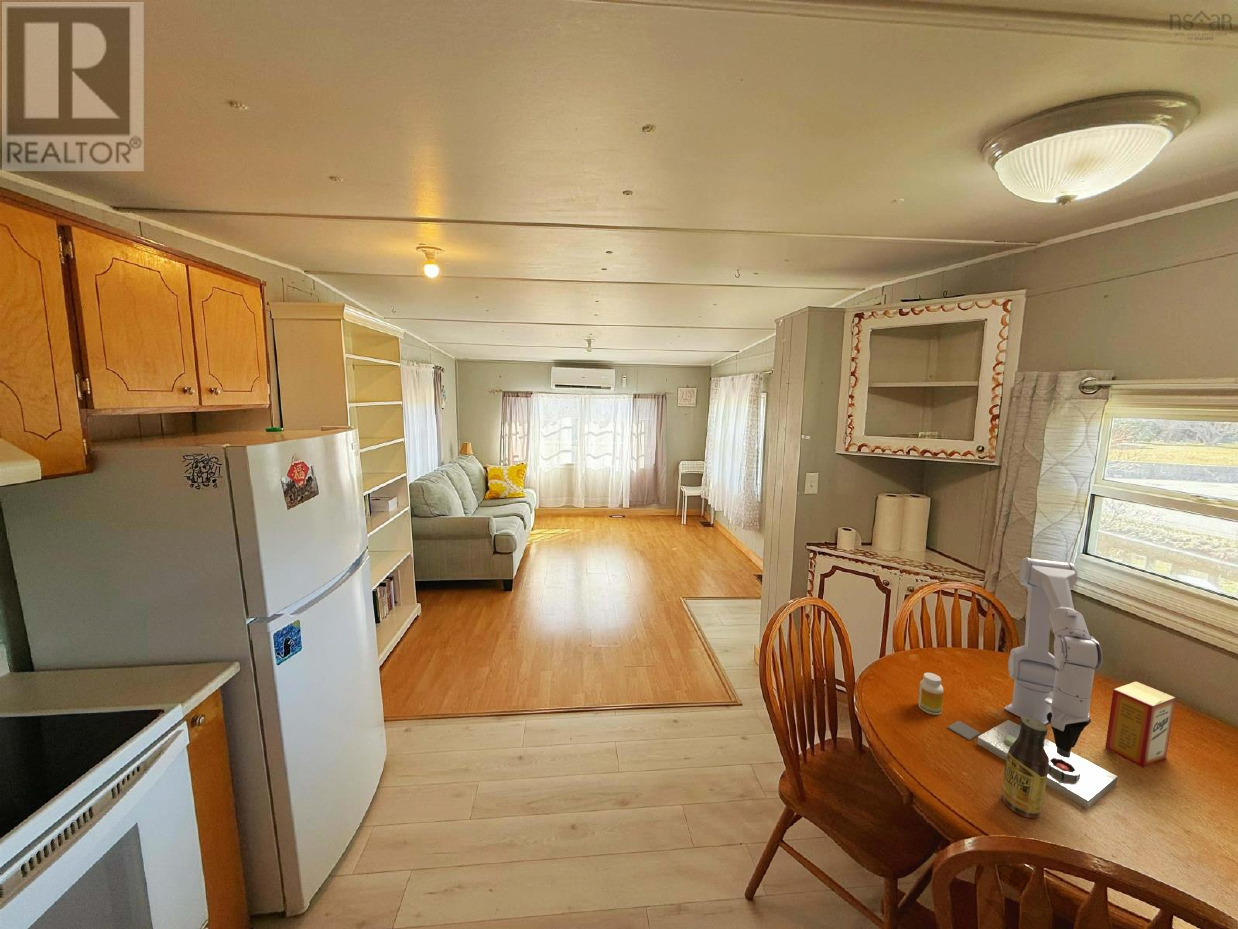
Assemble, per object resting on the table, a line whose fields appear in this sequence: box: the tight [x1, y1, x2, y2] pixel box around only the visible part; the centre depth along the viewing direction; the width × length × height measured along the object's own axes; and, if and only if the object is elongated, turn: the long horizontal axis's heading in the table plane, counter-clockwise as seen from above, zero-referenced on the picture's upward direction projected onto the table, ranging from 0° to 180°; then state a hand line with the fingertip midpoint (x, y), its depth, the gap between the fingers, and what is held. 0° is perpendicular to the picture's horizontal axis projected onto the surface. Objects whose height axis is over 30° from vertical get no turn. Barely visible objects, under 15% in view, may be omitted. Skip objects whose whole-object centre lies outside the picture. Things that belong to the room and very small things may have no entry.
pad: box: [1005, 735, 1017, 746], centre depth 108 cm, size 2×2×2 cm
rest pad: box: [947, 720, 982, 741], centre depth 115 cm, size 5×5×1 cm
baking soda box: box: [1105, 681, 1177, 769], centre depth 106 cm, size 10×6×16 cm
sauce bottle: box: [1001, 717, 1049, 819], centre depth 92 cm, size 7×6×20 cm
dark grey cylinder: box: [1057, 747, 1072, 758], centre depth 99 cm, size 2×2×8 cm
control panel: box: [976, 719, 1118, 809], centre depth 104 cm, size 14×20×3 cm
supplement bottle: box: [917, 672, 944, 716], centre depth 123 cm, size 5×5×10 cm
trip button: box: [1056, 763, 1069, 772], centre depth 100 cm, size 2×2×2 cm
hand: (1065, 746), depth 99 cm, fingers closed on dark grey cylinder, 2 cm apart
